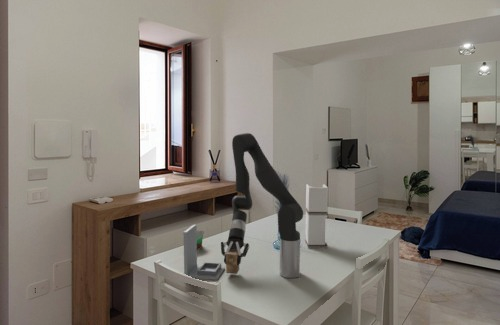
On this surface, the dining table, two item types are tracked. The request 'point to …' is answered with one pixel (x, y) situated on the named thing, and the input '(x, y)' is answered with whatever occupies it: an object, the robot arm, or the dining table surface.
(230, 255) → the walnut block
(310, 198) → the white square tower
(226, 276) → the dining table surface
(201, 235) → the food container
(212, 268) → the grey socket stand
